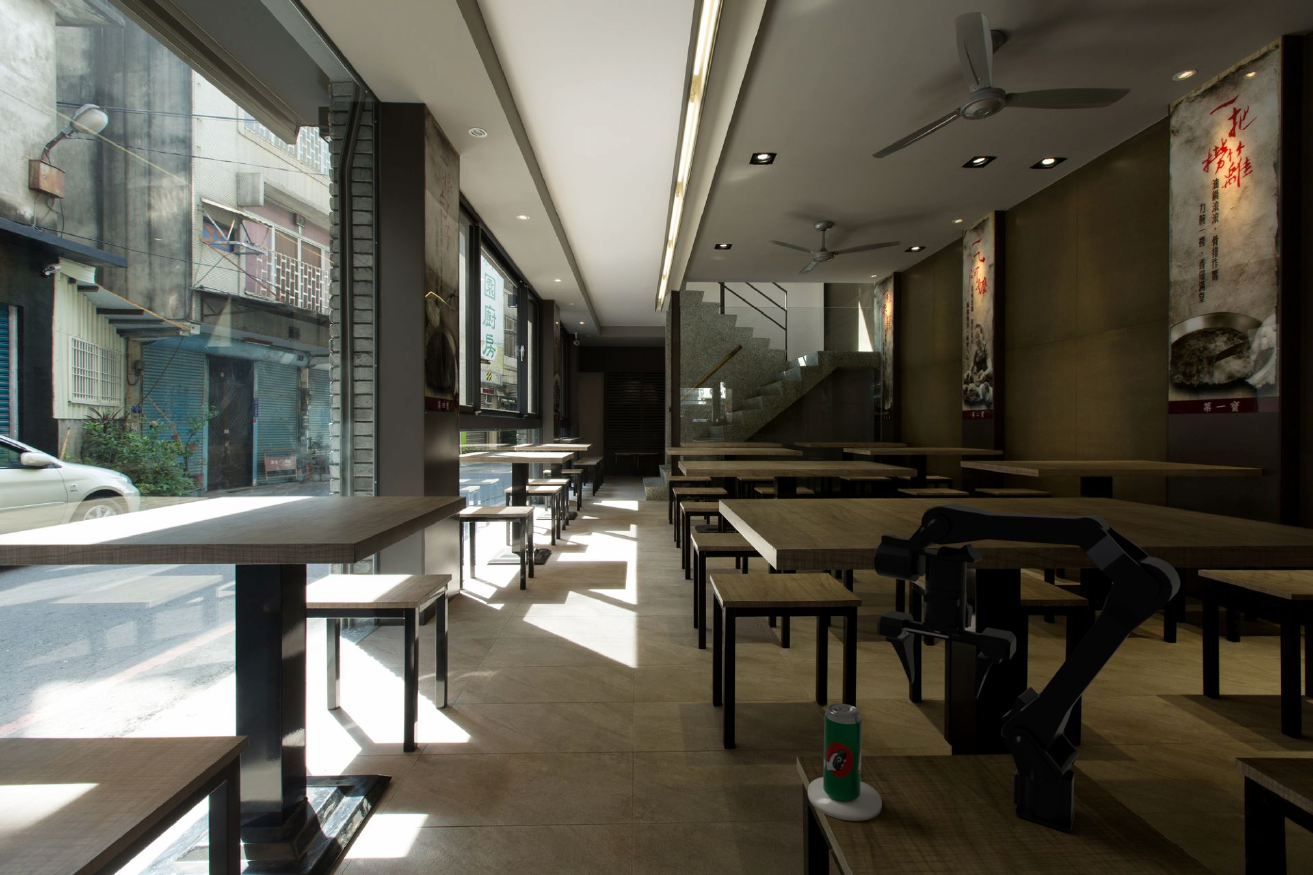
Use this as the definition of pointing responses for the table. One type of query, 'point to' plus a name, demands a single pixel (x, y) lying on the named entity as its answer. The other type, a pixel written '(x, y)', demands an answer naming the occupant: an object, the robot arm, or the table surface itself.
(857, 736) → the soda can
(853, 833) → the table surface
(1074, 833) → the table surface
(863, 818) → the coaster
